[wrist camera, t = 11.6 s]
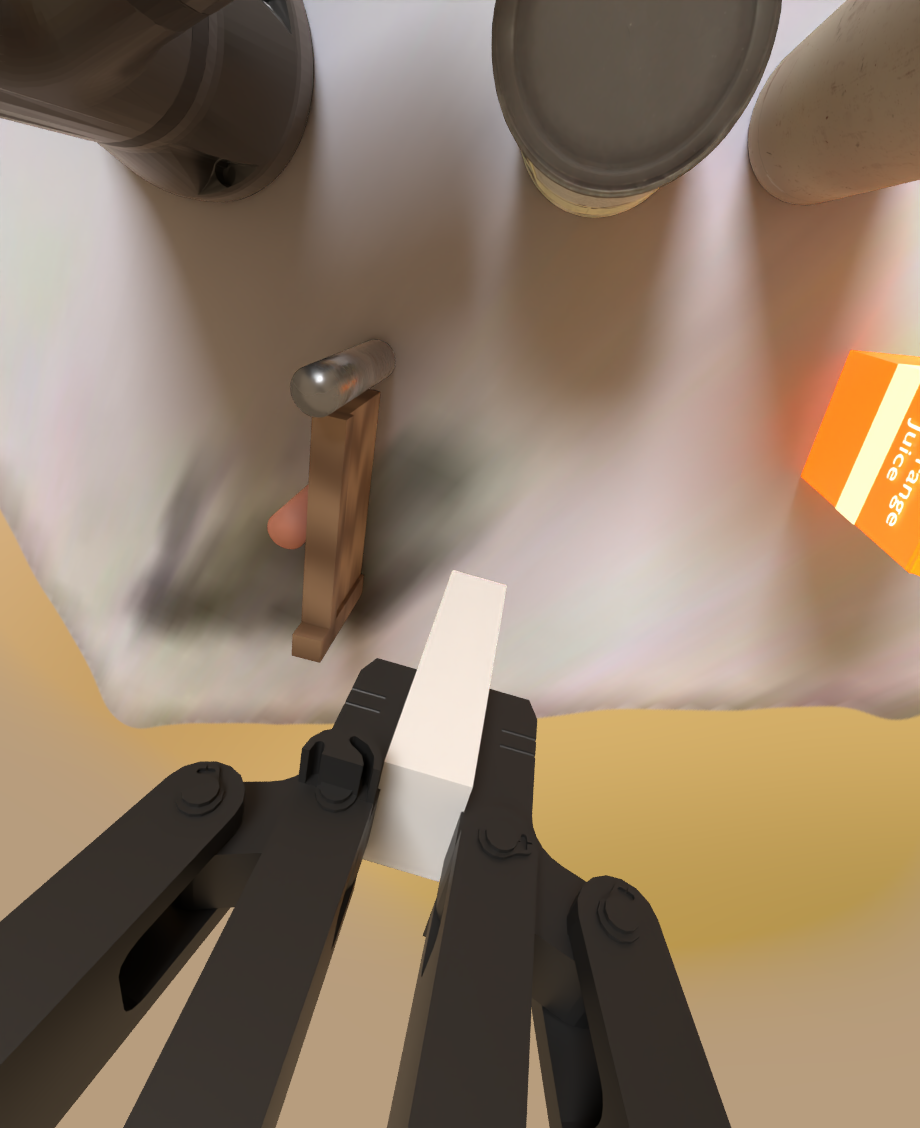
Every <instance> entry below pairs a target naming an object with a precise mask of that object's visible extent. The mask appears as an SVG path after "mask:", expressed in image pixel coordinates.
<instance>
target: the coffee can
mask: <svg viewBox="0 0 920 1128" xmlns="http://www.w3.org/2000/svg"><path fill="white" fill-rule="evenodd" d="M781 3H782V0H496V3H495V8H494V16H493V23H492V65H493V74H494V80H495V86H496V91H497V96H498V99H499V103H500V106H501V110H502V113H503V116H504V118H505V121H506V123H507V125H508V128H509V130H510V132H511V134H512V135H513V137H514V139H515V141H516V143H517V144H518V146H519V148H520V149H521V153H522V157H523V160H524V163H525V166H526V168H527V170H528V173H529V175H530V176H531V178H532V180H533V182H534V183H535V185H536V187H537V188H538V189H539V191H540V192H541V193H542V194H543V195H544V196H545V197H546V198H547V199H548V200H549V201H550V202H552V203H553V204H554V205H556V206H557V207H559V208H561V209H562V210H564V211H566V212H569V213H572V214H574V215H578V216H583V217H589V218H600V217H607V216H612V215H616V214H619V213H622V212H624V211H627V210H629V209H631V208H633V207H635V206H637V205H638V204H640V203H642V202H643V201H644V200H646V199H647V198H648V197H649V196H651V195H652V194H653V193H655V192H656V191H657V190H658V189H659V188H660V187H662V186H664V185H666V184H668V183H670V182H672V181H673V180H675V179H677V178H678V177H680V176H682V175H683V174H684V173H686V172H688V171H689V170H691V169H692V168H693V167H695V166H696V165H697V164H698V163H699V162H701V161H702V160H703V159H704V158H706V157H707V156H708V155H709V154H710V153H711V152H712V151H713V150H714V149H715V148H716V147H717V146H718V145H719V144H720V142H721V141H722V140H723V139H724V138H725V137H726V136H727V134H728V133H729V132H730V130H731V129H732V127H733V126H734V125H735V123H736V122H737V120H738V119H739V118H740V116H741V115H742V113H743V112H744V110H745V109H746V107H747V105H748V104H749V102H750V100H751V98H752V97H753V95H754V93H755V91H756V89H757V87H758V85H759V82H760V80H761V78H762V76H763V73H764V71H765V68H766V66H767V63H768V60H769V58H770V54H771V51H772V48H773V45H774V41H775V37H776V33H777V29H778V24H779V19H780V13H781Z"/></svg>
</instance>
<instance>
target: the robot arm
mask: <svg viewBox="0 0 920 1128" xmlns="http://www.w3.org/2000/svg"><path fill="white" fill-rule="evenodd" d="M312 89H313V52H312V43H311V36H310V30H309V25H308V20H307V15H306V12H305V8H304V4H303V1H302V0H0V118H3V119H7V120H11V121H15V122H19V123H23V124H26V125H30V126H34V127H38V128H42V129H46V130H50V131H54V132H58V133H62V134H66V135H70V136H74V137H78V138H82V139H86V140H90V141H94V142H97V143H98V144H100V145H101V146H102V147H103V148H105V149H106V150H107V151H108V152H110V153H111V154H112V155H113V156H114V157H116V158H117V159H118V160H119V161H121V162H122V163H123V164H124V165H126V166H127V167H128V168H129V169H131V170H132V171H133V172H134V173H136V174H137V175H139V176H140V177H141V178H143V179H144V180H146V181H148V182H149V183H151V184H153V185H155V186H157V187H159V188H161V189H163V190H165V191H168V192H170V193H173V194H176V195H179V196H183V197H187V198H192V199H198V200H203V201H210V202H228V201H234V200H239V199H242V198H245V197H248V196H250V195H252V194H254V193H256V192H258V191H260V190H261V189H263V188H264V187H266V186H267V185H268V184H270V183H271V182H272V181H273V180H274V179H275V178H276V177H277V176H278V175H279V174H280V173H281V172H282V170H283V169H284V168H285V167H286V165H287V164H288V162H289V161H290V159H291V158H292V156H293V154H294V152H295V151H296V149H297V147H298V144H299V142H300V140H301V137H302V135H303V132H304V129H305V126H306V123H307V119H308V115H309V110H310V104H311V98H312ZM506 588H507V585H505V584H501V583H497V582H494V581H490V580H487V579H483V578H480V577H476V576H472V575H469V574H465V573H462V572H458V571H455V570H452V573H451V576H450V579H449V581H448V584H447V587H446V590H445V593H444V595H443V598H442V601H441V604H440V607H439V610H438V612H437V615H436V618H435V621H434V624H433V626H432V629H431V632H430V635H429V638H428V640H427V643H426V646H425V649H424V652H423V654H422V657H421V660H420V663H419V666H418V668H417V669H413V668H410V667H406V666H403V665H399V664H396V663H392V662H389V661H385V660H382V659H378V658H377V659H375V660H374V661H373V662H371V663H370V664H369V665H367V666H366V667H365V668H363V669H362V670H361V671H360V673H359V675H358V677H357V679H356V681H355V683H354V685H353V688H352V690H351V692H350V694H349V696H348V698H347V700H346V702H345V704H344V706H343V708H342V710H341V712H340V714H339V716H338V718H337V720H336V722H335V724H334V726H333V728H332V729H330V730H324V731H322V732H320V733H319V734H317V735H315V736H313V737H311V738H310V739H309V741H308V742H307V743H306V744H305V746H304V747H303V748H302V753H301V763H300V770H299V775H297V776H295V777H292V778H289V779H286V780H282V781H272V782H243V781H242V777H241V775H240V774H238V772H236V771H235V770H234V769H233V768H232V767H231V766H228V765H225V764H222V763H219V762H197V763H194V764H191V765H187V766H184V767H182V768H180V769H179V770H177V771H176V772H174V773H172V774H171V775H169V776H168V777H167V778H165V779H164V780H163V781H162V782H161V783H160V784H159V785H157V786H156V787H155V788H154V789H153V790H152V791H150V792H149V793H148V794H147V795H146V796H145V797H144V798H142V799H141V800H140V801H139V802H138V803H137V804H136V805H134V806H133V807H132V808H131V809H130V810H129V811H127V812H126V813H125V814H124V815H123V816H122V817H121V818H119V819H118V820H117V821H116V822H115V823H114V824H112V825H111V826H110V827H109V828H108V829H107V830H106V831H105V832H103V833H102V834H101V835H100V836H99V837H97V838H96V839H95V840H94V841H93V842H92V843H91V844H89V845H88V846H87V847H86V848H85V849H84V850H83V851H81V852H80V853H79V854H78V855H77V856H76V857H74V858H73V859H72V860H71V861H70V862H69V863H68V864H66V865H65V866H64V867H63V868H62V869H61V870H59V871H58V872H57V873H56V874H55V875H54V876H53V877H51V878H50V879H49V880H48V881H47V882H46V883H44V884H43V885H42V886H41V887H40V888H39V889H38V890H36V891H35V892H34V893H33V894H32V895H31V896H30V897H29V898H27V899H26V900H25V901H24V902H23V903H21V904H20V905H19V906H18V907H17V908H16V909H14V910H13V911H12V912H11V913H10V914H9V915H8V916H6V917H5V918H4V919H3V920H2V921H1V922H0V1128H55V1127H56V1125H57V1124H58V1123H59V1122H60V1120H61V1119H62V1118H63V1117H64V1115H65V1114H66V1113H67V1112H68V1110H69V1109H70V1108H71V1107H72V1105H73V1104H74V1103H75V1102H76V1100H77V1099H78V1098H79V1097H80V1095H81V1094H82V1093H83V1092H84V1090H85V1089H86V1088H87V1087H88V1085H89V1084H90V1083H91V1082H92V1080H93V1079H94V1078H95V1076H96V1075H97V1074H98V1073H99V1072H100V1070H101V1069H102V1068H103V1067H104V1065H105V1064H106V1063H107V1062H108V1060H109V1059H110V1058H111V1057H112V1055H113V1054H114V1053H115V1052H116V1050H117V1049H118V1048H119V1047H120V1045H121V1044H122V1043H123V1042H124V1040H125V1039H126V1038H127V1037H128V1035H129V1034H130V1032H132V1030H133V1029H134V1028H135V1026H136V1025H137V1024H138V1023H139V1021H140V1020H141V1019H142V1018H143V1016H144V1015H145V1014H146V1013H147V1011H148V1010H149V1009H150V1008H151V1006H152V1005H153V1004H154V1003H155V1001H156V1000H157V999H158V998H159V996H160V995H161V994H162V993H163V991H164V990H165V989H166V988H167V986H168V985H169V984H170V983H171V981H172V980H173V979H174V978H175V976H176V975H177V974H178V973H179V971H180V970H181V969H182V968H183V966H184V965H185V964H186V963H187V961H188V960H189V959H190V958H191V956H192V955H193V954H194V953H195V951H196V950H197V949H198V947H199V946H200V945H201V944H202V943H203V941H204V940H205V939H206V938H207V936H208V935H209V934H210V933H211V931H212V930H213V929H214V928H215V926H216V925H217V924H218V923H219V921H220V920H221V919H222V918H223V916H224V915H225V914H226V913H227V911H228V910H229V909H230V908H231V907H235V908H234V909H233V911H232V914H231V916H230V918H229V919H228V921H227V924H226V926H225V927H224V929H223V931H222V933H221V936H220V937H219V939H218V941H217V943H216V945H215V947H214V949H213V951H212V953H211V955H210V957H209V959H208V961H207V963H206V965H205V967H204V969H203V971H202V973H201V975H200V977H199V979H198V981H197V983H196V985H195V987H194V989H193V991H192V993H191V995H190V997H189V999H188V1001H187V1003H186V1005H185V1007H184V1008H183V1010H182V1013H181V1014H180V1016H179V1019H178V1020H177V1022H176V1024H175V1026H174V1028H173V1030H172V1032H171V1034H170V1036H169V1038H168V1040H167V1042H166V1044H165V1046H164V1048H163V1050H162V1052H161V1054H160V1056H159V1058H158V1060H157V1062H156V1064H155V1066H154V1068H153V1070H152V1072H151V1074H150V1076H149V1078H148V1080H147V1082H146V1084H145V1086H144V1088H143V1090H142V1092H141V1094H140V1096H139V1098H138V1100H137V1102H136V1104H135V1106H134V1107H133V1110H132V1112H131V1113H130V1115H129V1117H128V1119H127V1121H126V1123H125V1125H124V1127H123V1128H275V1127H276V1124H277V1121H278V1118H279V1115H280V1112H281V1109H282V1106H283V1103H284V1100H285V1097H286V1093H287V1091H288V1088H289V1085H290V1082H291V1079H292V1076H293V1073H294V1070H295V1067H296V1063H297V1061H298V1058H299V1054H300V1051H301V1048H302V1045H303V1042H304V1039H305V1036H306V1033H307V1030H308V1027H309V1024H310V1021H311V1018H312V1015H313V1011H314V1009H315V1006H316V1002H317V1000H318V997H319V994H320V990H321V988H322V985H323V982H324V979H325V975H326V972H327V969H328V966H329V963H330V960H331V957H332V954H333V951H334V948H335V945H336V942H337V939H338V936H339V933H340V930H341V927H342V924H343V921H344V918H345V914H346V911H347V908H348V905H349V902H350V899H351V896H352V893H353V890H354V886H355V881H356V877H357V873H358V870H359V867H360V864H361V861H362V859H364V860H367V861H371V862H374V863H377V864H381V865H384V866H387V867H391V868H394V869H397V870H401V871H404V872H408V873H411V874H414V875H418V876H421V877H424V878H428V879H431V880H434V881H438V882H439V880H440V883H439V888H438V893H437V898H436V901H435V903H434V906H433V909H432V912H431V914H430V917H429V920H428V923H427V926H426V928H425V931H424V934H423V936H425V937H426V940H425V945H424V950H423V954H422V959H421V964H420V969H419V974H418V979H417V984H416V988H415V994H414V999H413V1003H412V1008H411V1013H410V1018H409V1023H408V1028H407V1032H406V1038H405V1042H404V1048H403V1052H402V1057H401V1062H400V1067H399V1072H398V1077H397V1082H396V1086H395V1091H394V1096H393V1101H392V1106H391V1111H390V1116H389V1121H388V1126H387V1128H526V1117H527V1095H528V1072H529V1049H530V1026H531V1007H532V1014H533V1020H534V1027H535V1033H536V1040H537V1047H538V1053H539V1060H540V1067H541V1073H542V1080H543V1086H544V1093H545V1099H546V1106H547V1113H548V1119H549V1126H550V1128H731V1126H730V1123H729V1120H728V1117H727V1115H726V1112H725V1109H724V1106H723V1103H722V1100H721V1098H720V1095H719V1092H718V1089H717V1086H716V1083H715V1081H714V1078H713V1075H712V1072H711V1069H710V1066H709V1064H708V1061H707V1058H706V1055H705V1052H704V1049H703V1046H702V1044H701V1041H700V1038H699V1035H698V1032H697V1029H696V1027H695V1024H694V1021H693V1018H692V1015H691V1012H690V1010H689V1007H688V1004H687V1001H686V998H685V995H684V993H683V990H682V987H681V984H680V981H679V978H678V976H677V973H676V970H675V968H674V964H673V962H672V958H671V956H670V953H669V950H668V947H667V944H666V942H665V939H664V936H663V933H662V930H661V927H660V924H659V922H658V919H657V917H656V915H655V913H654V912H653V909H652V908H651V906H650V904H649V902H648V901H647V900H646V899H645V898H644V897H643V896H642V895H641V893H640V892H639V891H638V890H637V889H636V888H634V887H633V886H631V885H629V884H628V883H626V882H625V881H623V880H622V879H618V878H614V877H610V876H606V875H605V876H599V877H593V878H592V879H590V880H589V881H588V882H585V881H584V880H583V879H581V878H580V877H578V876H576V875H575V874H573V873H572V872H570V871H569V870H567V869H565V868H564V867H563V866H561V865H560V864H559V863H557V862H556V861H555V860H554V859H552V858H551V857H550V856H549V855H548V853H547V852H546V851H545V850H544V849H543V848H542V846H541V844H540V842H539V841H538V839H537V837H536V834H535V831H534V828H533V824H532V804H533V787H534V767H535V758H534V757H535V750H536V742H535V741H536V731H537V730H536V729H537V718H536V715H535V713H534V711H533V708H532V706H531V704H530V701H529V700H527V699H523V698H520V697H516V696H513V695H509V694H506V693H502V692H499V691H495V690H492V689H489V688H490V683H491V677H492V671H493V665H494V659H495V653H496V647H497V641H498V635H499V630H500V624H501V618H502V612H503V606H504V600H505V594H506ZM440 877H441V878H440Z"/></svg>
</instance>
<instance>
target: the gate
mask: <svg viewBox="0 0 920 1128" xmlns="http://www.w3.org/2000/svg"><path fill="white" fill-rule="evenodd" d="M380 394H381V392H379V391H375V390H370V389H368V390H366V391H365V392H363V393H362V394H360V395H359V396H357V397H356V398H354V399H353V400H351V401H350V402H348V403H346V404H345V405H343V406H342V407H340V408H339V409H337V410H336V411H334V412H333V413H331V414H329V415H328V416H325V417H320V418H317V417H312V425H311V445H310V465H309V484H308V504H307V524H306V544H305V564H304V584H303V604H302V622H301V624H300V625H299V626H298V628H297V629H296V630H295V632H294V633H293V639H292V656H296V657H300V658H304V659H308V660H311V661H315V662H319V663H320V662H321V660H322V659H323V657H324V655H325V654H326V652H327V650H328V649H329V647H330V646H331V644H332V642H333V641H334V639H335V637H336V636H337V634H338V632H339V631H340V629H341V627H342V626H343V624H344V622H345V621H346V619H347V617H348V616H349V614H350V612H351V611H352V609H353V608H354V606H355V604H356V603H357V601H358V599H359V598H360V596H361V594H362V589H363V580H364V575H363V574H361V567H362V558H363V549H364V540H365V531H366V522H367V513H368V503H369V494H370V485H371V476H372V467H373V458H374V449H375V439H376V430H377V421H378V412H379V403H380Z"/></svg>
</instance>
